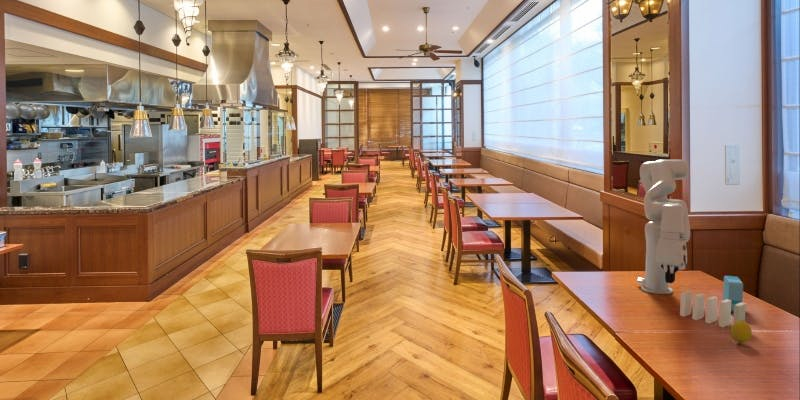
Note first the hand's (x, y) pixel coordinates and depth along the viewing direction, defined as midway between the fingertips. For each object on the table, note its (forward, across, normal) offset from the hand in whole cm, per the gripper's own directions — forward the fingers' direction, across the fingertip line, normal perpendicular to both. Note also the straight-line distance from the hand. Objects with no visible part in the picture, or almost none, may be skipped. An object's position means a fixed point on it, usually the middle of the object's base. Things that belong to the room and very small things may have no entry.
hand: (669, 282), depth 189 cm
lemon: (+13, -30, +13) cm, 35 cm away
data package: (+11, -13, -23) cm, 29 cm away
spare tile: (+12, -24, -1) cm, 27 cm away
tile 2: (+12, -10, -1) cm, 16 cm away
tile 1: (+12, -6, -1) cm, 13 cm away
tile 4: (+12, -19, -1) cm, 23 cm away
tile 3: (+12, -15, -1) cm, 19 cm away
